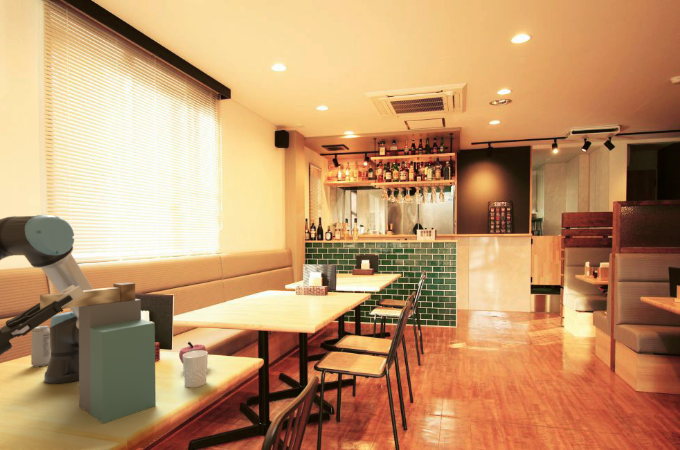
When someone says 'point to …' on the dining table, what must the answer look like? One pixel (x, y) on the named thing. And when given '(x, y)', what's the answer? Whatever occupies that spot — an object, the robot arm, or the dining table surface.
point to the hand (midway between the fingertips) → (78, 289)
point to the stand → (115, 360)
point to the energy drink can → (40, 346)
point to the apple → (190, 349)
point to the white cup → (195, 368)
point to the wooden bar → (95, 296)
